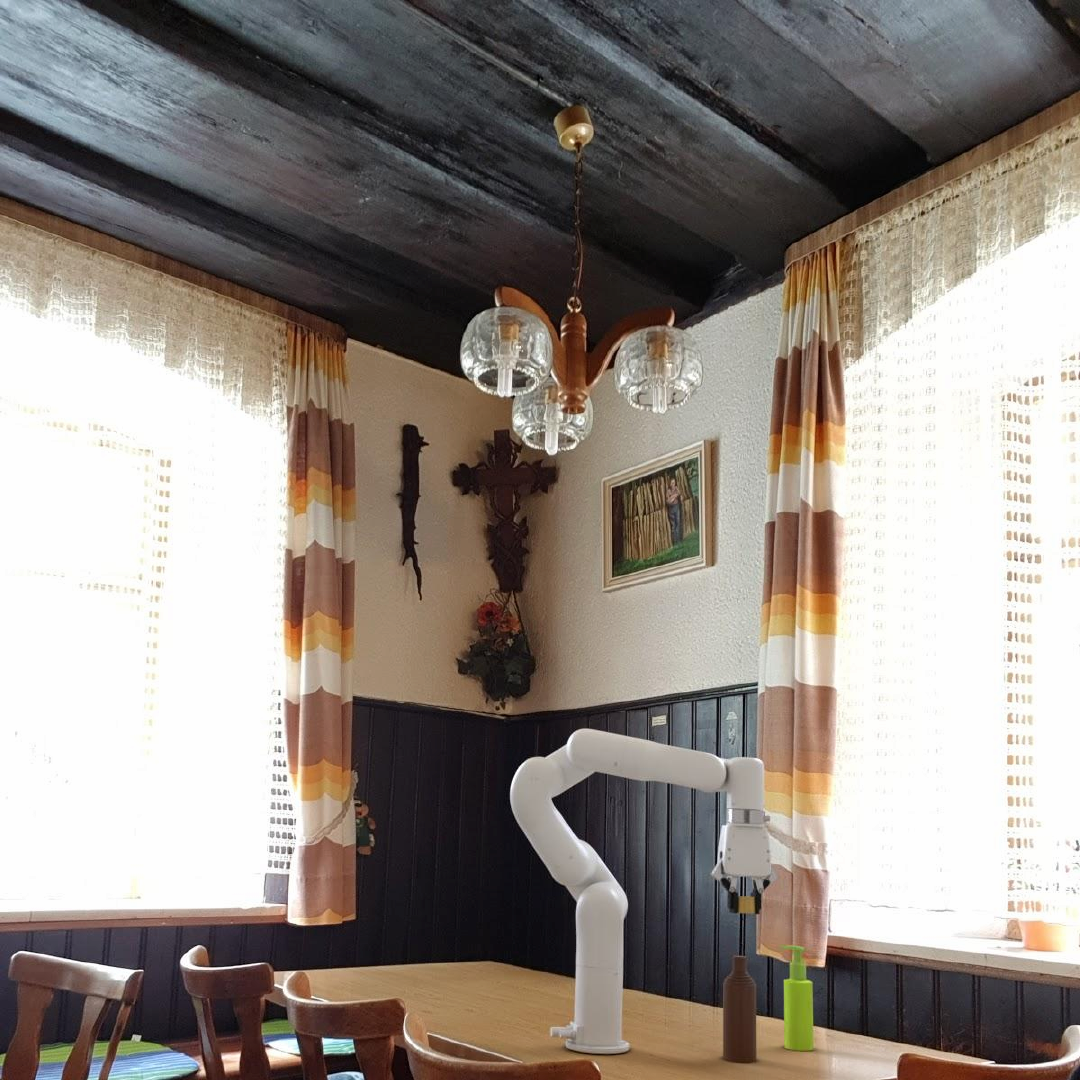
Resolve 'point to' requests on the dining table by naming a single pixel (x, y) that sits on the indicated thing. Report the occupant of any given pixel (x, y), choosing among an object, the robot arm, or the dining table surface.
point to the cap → (746, 904)
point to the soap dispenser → (798, 1005)
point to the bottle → (739, 1014)
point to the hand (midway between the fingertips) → (744, 912)
